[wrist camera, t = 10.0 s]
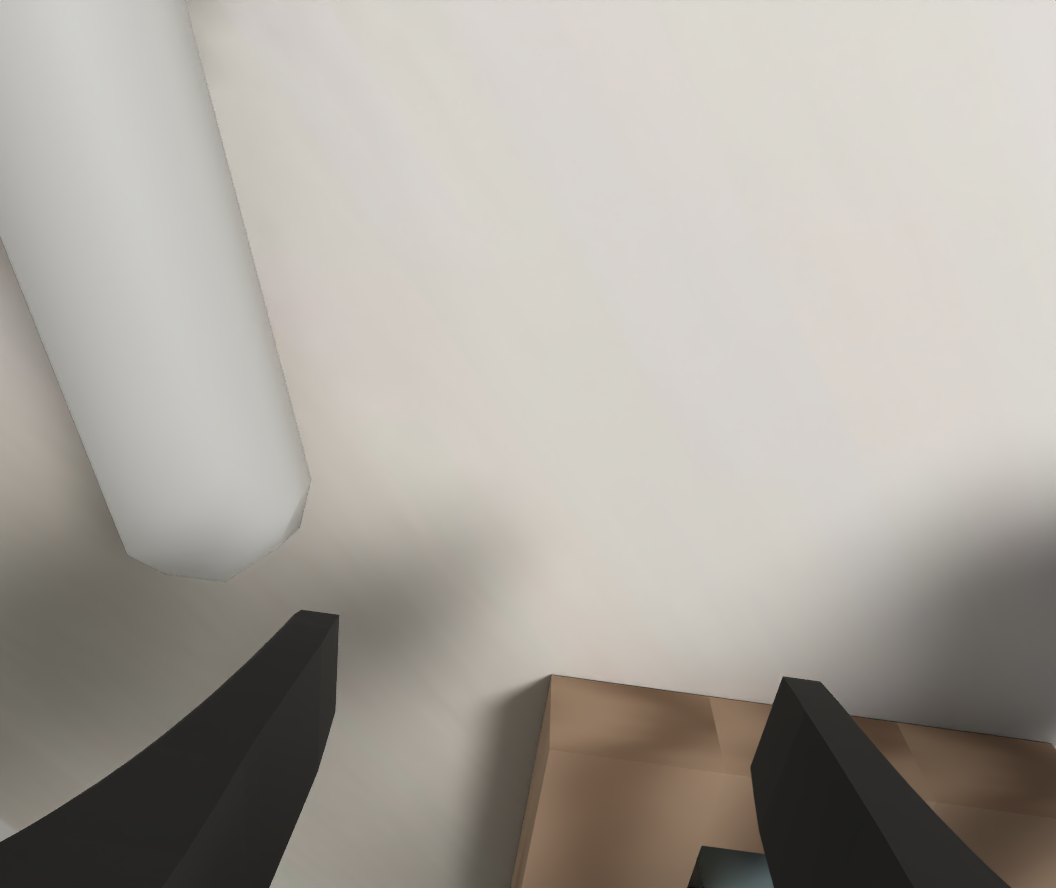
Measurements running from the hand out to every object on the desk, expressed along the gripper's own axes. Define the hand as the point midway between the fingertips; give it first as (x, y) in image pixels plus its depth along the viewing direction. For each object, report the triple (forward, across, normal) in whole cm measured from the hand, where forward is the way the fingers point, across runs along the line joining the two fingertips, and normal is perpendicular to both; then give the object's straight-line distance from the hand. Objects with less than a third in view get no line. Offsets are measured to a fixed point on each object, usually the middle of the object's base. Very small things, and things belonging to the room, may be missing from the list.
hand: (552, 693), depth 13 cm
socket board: (+9, -9, +14) cm, 19 cm away
